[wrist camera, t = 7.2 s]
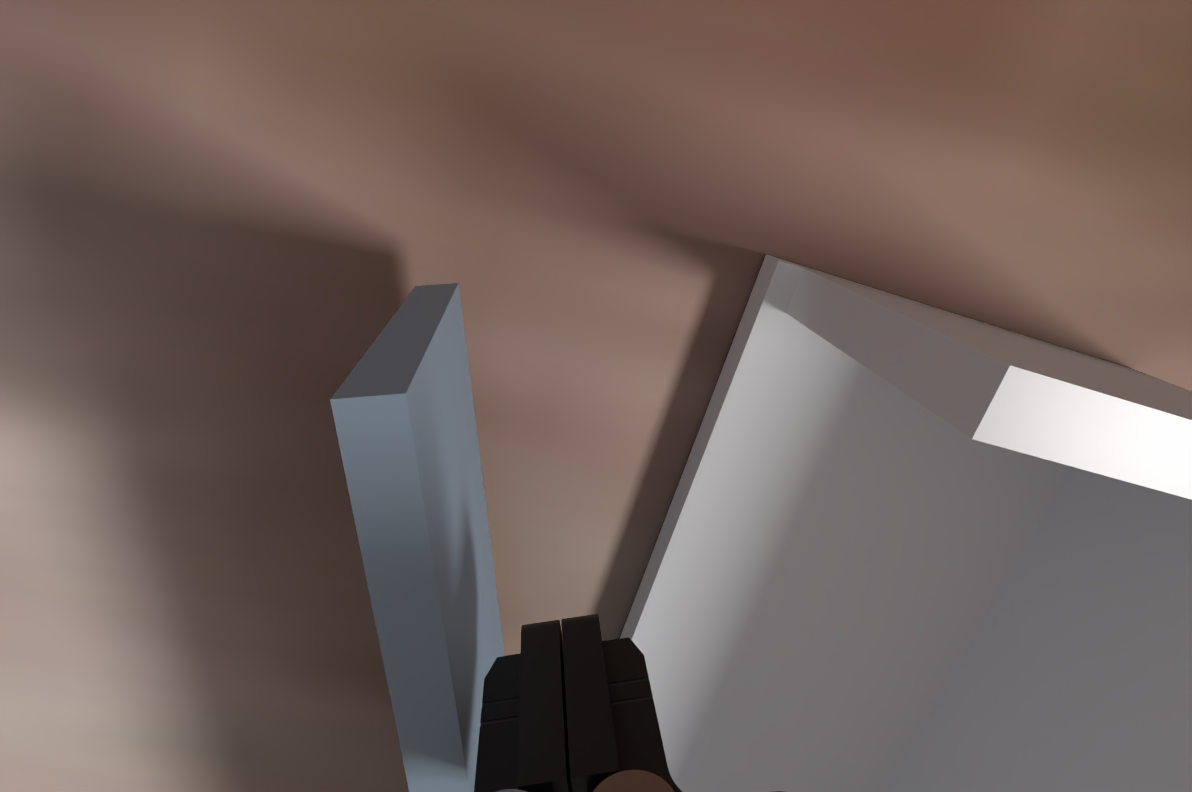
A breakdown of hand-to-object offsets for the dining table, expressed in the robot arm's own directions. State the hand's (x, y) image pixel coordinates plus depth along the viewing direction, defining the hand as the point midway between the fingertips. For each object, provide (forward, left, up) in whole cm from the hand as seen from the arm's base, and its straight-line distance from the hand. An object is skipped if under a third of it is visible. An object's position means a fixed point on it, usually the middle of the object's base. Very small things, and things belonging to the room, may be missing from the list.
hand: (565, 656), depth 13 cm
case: (-10, +5, -7) cm, 13 cm away
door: (+1, +6, -6) cm, 8 cm away
